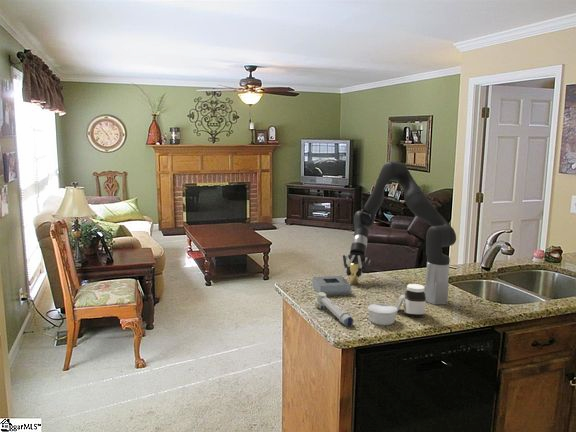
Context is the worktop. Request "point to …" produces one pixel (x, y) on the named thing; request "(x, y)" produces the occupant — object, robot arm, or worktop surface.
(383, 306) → the ramekin
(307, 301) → the worktop surface
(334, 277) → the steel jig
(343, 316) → the grey blue-tipped handle
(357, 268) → the brass bushing
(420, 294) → the spread jar
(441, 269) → the robot arm
